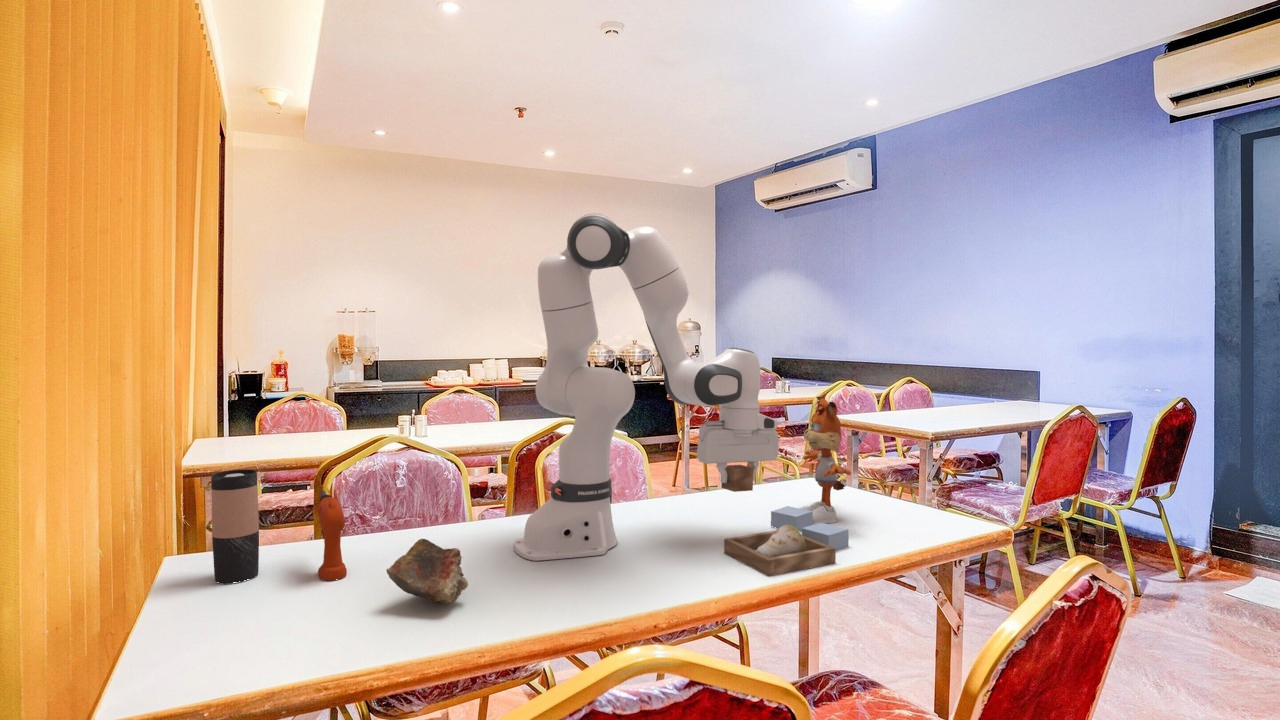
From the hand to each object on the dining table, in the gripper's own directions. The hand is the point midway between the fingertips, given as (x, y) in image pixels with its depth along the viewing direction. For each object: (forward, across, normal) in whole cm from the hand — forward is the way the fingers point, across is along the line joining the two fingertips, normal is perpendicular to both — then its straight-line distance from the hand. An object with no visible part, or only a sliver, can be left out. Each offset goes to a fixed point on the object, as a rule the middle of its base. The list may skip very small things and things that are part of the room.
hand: (737, 481), depth 151 cm
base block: (+13, +14, -13) cm, 23 cm away
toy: (+12, +28, +3) cm, 31 cm away
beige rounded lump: (+13, -1, -17) cm, 22 cm away
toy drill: (+17, -82, +21) cm, 87 cm away
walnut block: (+2, 0, 0) cm, 2 cm away
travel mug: (+17, -98, +23) cm, 102 cm away
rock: (+16, -67, -7) cm, 69 cm away
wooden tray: (+13, 0, -15) cm, 20 cm away
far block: (+12, +17, +2) cm, 21 cm away
